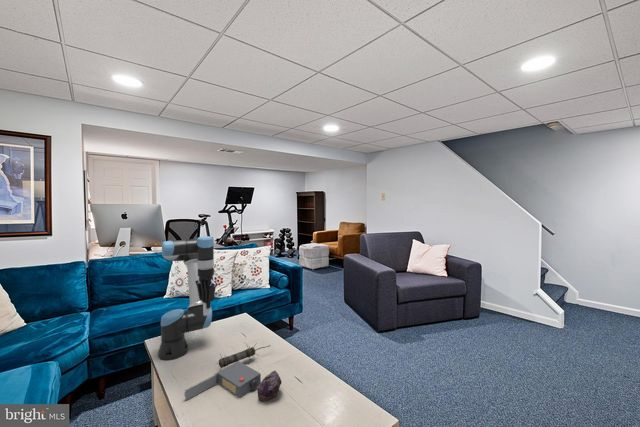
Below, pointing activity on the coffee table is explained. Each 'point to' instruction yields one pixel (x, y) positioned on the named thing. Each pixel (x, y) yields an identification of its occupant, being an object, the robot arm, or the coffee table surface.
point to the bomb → (237, 356)
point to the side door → (200, 387)
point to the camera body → (239, 378)
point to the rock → (269, 386)
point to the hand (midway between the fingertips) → (206, 314)
